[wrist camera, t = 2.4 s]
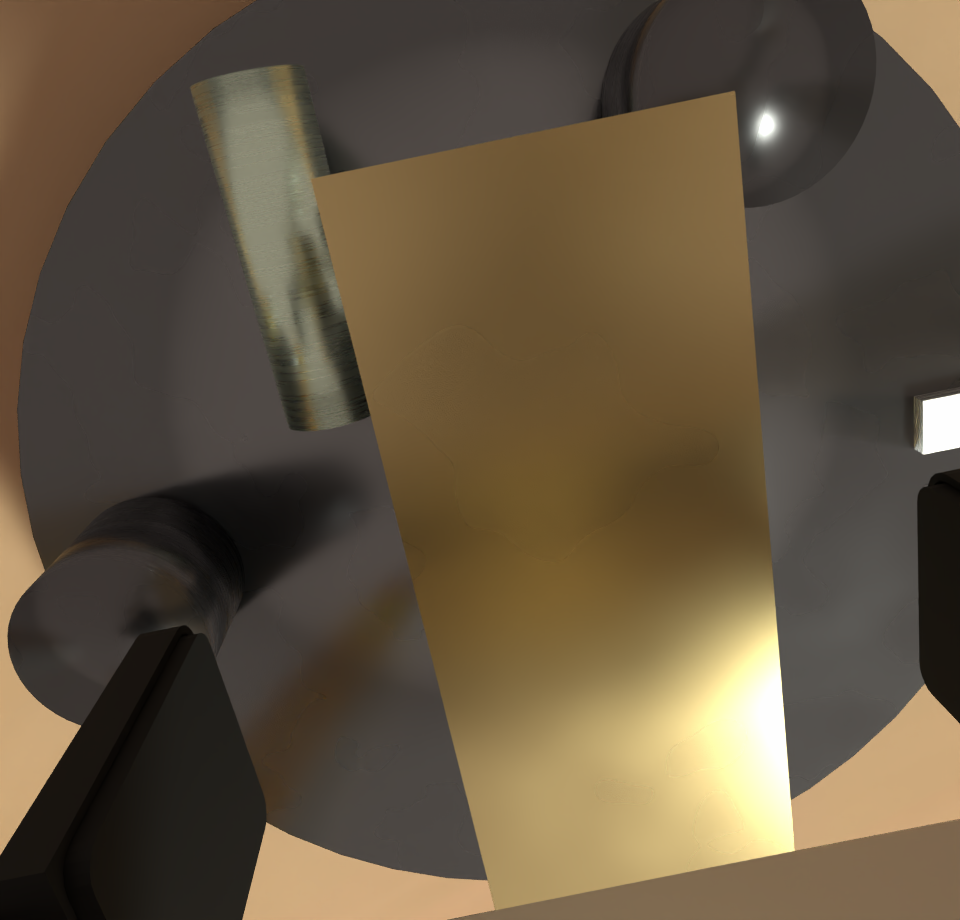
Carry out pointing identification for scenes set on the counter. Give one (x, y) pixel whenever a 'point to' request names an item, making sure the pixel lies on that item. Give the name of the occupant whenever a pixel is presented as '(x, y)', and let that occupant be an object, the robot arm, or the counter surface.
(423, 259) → the orange-tipped wooden plank
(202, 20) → the counter surface
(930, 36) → the counter surface
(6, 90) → the counter surface
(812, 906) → the robot arm
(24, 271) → the counter surface
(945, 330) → the base
